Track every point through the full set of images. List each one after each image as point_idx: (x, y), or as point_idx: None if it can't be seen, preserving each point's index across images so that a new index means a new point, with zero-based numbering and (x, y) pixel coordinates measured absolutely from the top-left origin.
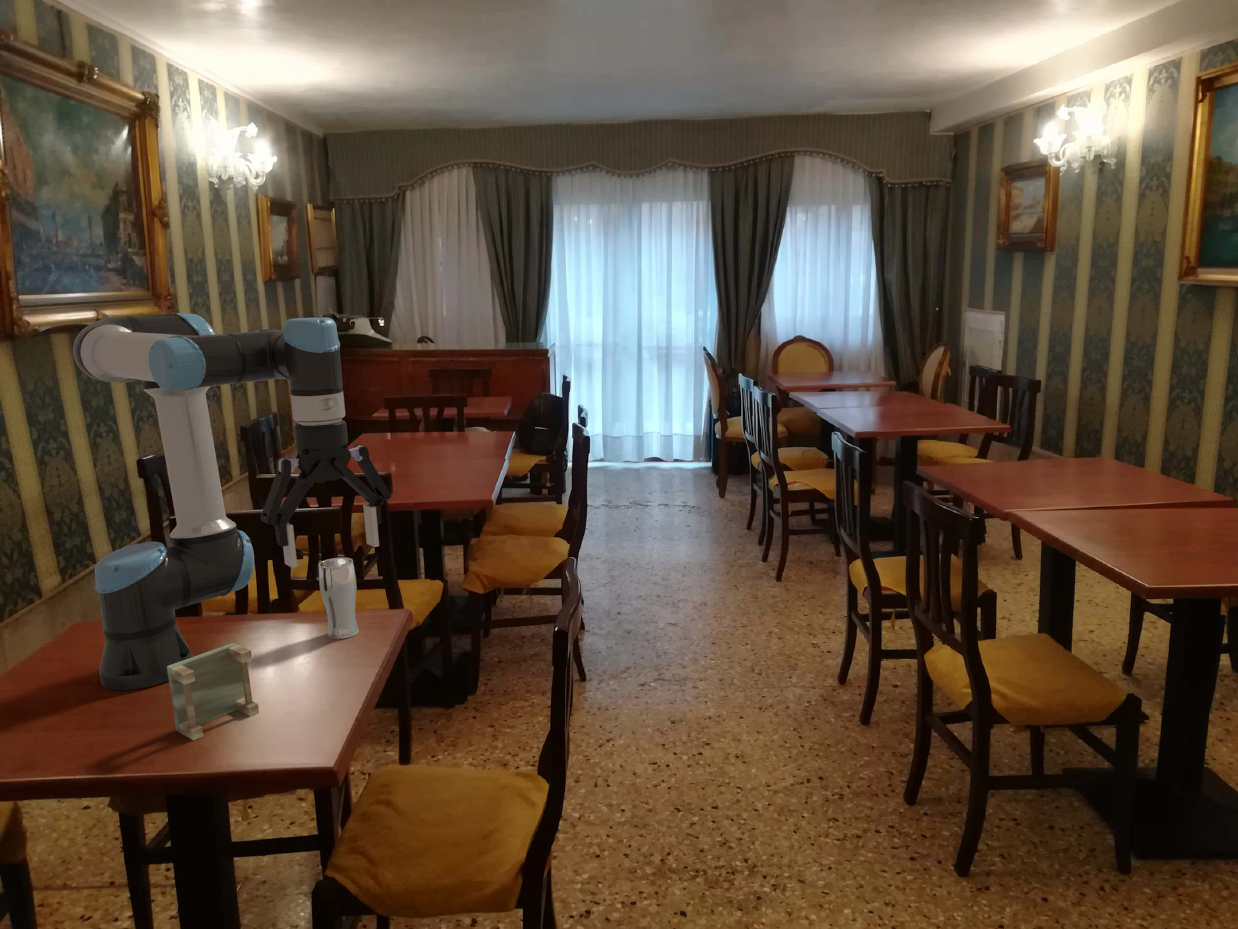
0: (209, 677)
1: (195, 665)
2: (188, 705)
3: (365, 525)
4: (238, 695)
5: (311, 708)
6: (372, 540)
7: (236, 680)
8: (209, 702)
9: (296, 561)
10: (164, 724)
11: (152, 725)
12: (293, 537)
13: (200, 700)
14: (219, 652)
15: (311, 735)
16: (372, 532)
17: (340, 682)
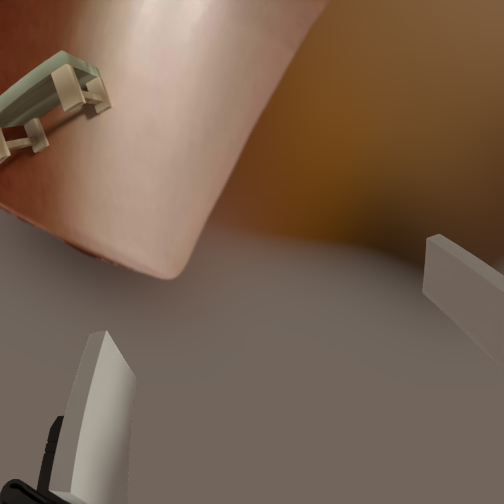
0: (36, 98)
1: (8, 108)
2: (18, 148)
3: (477, 275)
4: (87, 80)
5: (178, 129)
6: (436, 292)
7: (78, 78)
8: (49, 102)
9: (133, 393)
10: None
11: None
12: (125, 474)
13: (36, 109)
14: (37, 84)
15: (165, 208)
16: (455, 313)
17: (235, 67)
